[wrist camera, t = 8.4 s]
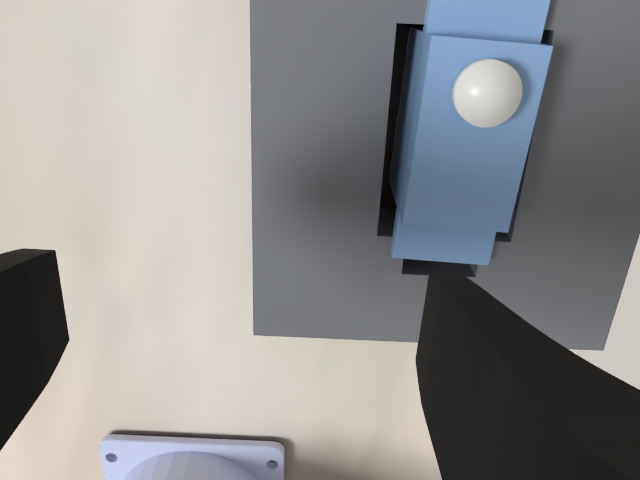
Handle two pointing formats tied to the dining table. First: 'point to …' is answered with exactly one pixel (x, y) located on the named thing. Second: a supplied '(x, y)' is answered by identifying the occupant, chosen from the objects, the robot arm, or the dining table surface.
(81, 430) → the dining table surface
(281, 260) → the chassis
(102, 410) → the dining table surface
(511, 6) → the servo
